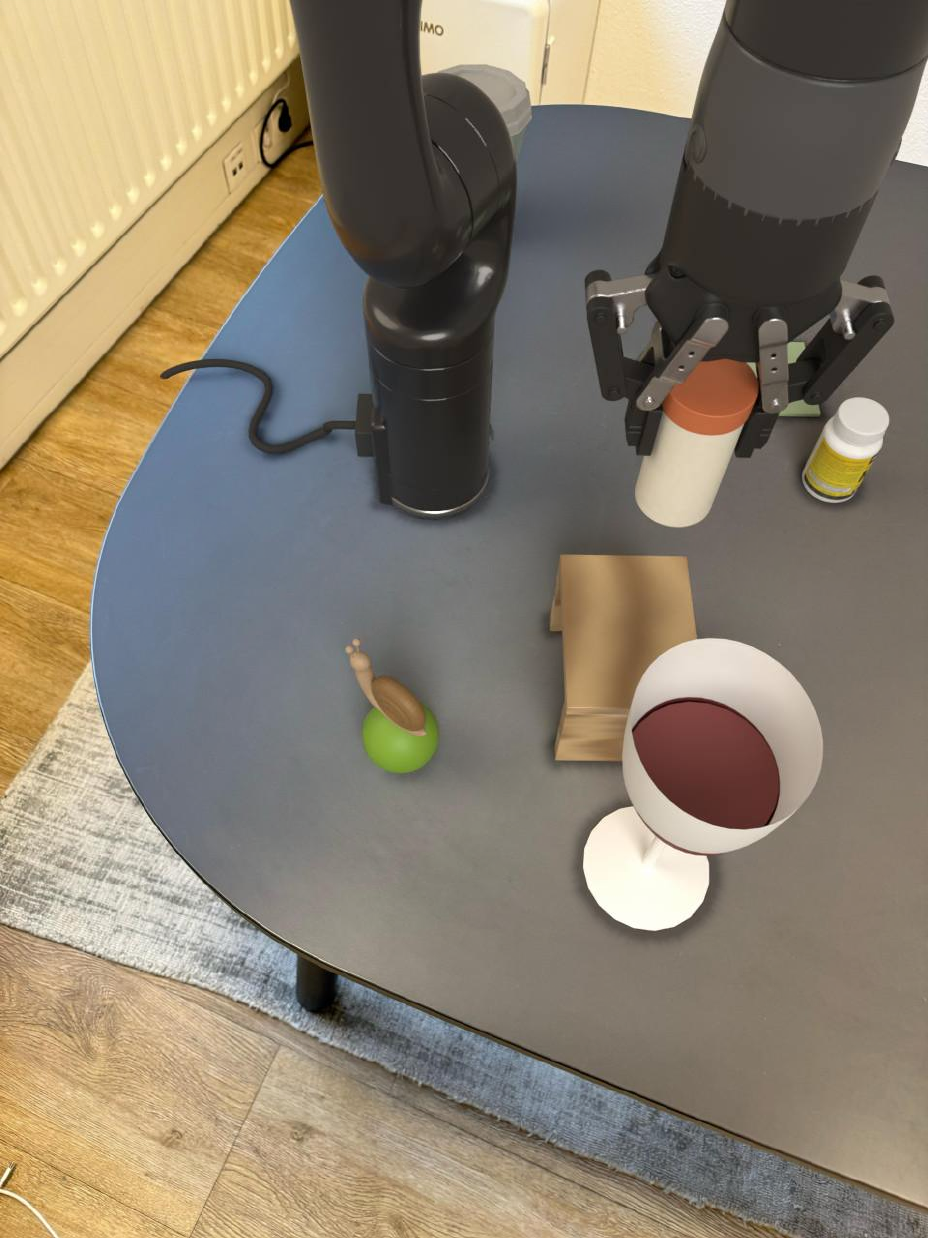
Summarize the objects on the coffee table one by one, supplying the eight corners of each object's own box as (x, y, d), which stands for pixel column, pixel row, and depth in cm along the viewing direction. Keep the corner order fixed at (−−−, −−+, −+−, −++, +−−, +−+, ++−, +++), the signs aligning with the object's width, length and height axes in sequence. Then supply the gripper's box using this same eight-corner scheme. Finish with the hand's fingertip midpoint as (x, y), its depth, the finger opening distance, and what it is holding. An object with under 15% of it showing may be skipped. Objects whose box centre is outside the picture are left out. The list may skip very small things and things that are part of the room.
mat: (719, 415, 87) (720, 412, 87) (708, 343, 92) (709, 340, 91) (819, 416, 87) (820, 413, 87) (802, 344, 92) (804, 341, 91)
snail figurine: (389, 694, 73) (377, 612, 63) (454, 744, 71) (454, 669, 61) (339, 746, 71) (319, 670, 60) (406, 799, 69) (396, 730, 58)
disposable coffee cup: (408, 204, 102) (401, 60, 89) (505, 185, 104) (512, 42, 91) (437, 269, 97) (434, 127, 84) (538, 248, 99) (551, 106, 86)
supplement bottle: (856, 508, 82) (895, 443, 75) (800, 499, 82) (833, 433, 75) (856, 465, 84) (894, 397, 77) (801, 456, 85) (833, 388, 78)
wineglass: (700, 794, 69) (798, 635, 49) (724, 938, 64) (844, 826, 44) (573, 798, 69) (619, 640, 49) (586, 943, 64) (645, 832, 44)
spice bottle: (636, 528, 54) (668, 415, 46) (630, 463, 56) (660, 345, 48) (718, 530, 54) (765, 417, 46) (709, 465, 56) (752, 347, 48)
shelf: (554, 760, 70) (567, 707, 63) (549, 618, 76) (560, 553, 69) (678, 762, 70) (706, 709, 63) (663, 620, 76) (687, 555, 69)
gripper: (952, 92, 38) (813, 394, 53) (593, 84, 38) (553, 388, 53) (1002, 216, 35) (837, 504, 49) (603, 207, 35) (557, 498, 49)
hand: (690, 443), depth 51 cm, fingers closed on spice bottle, 4 cm apart
